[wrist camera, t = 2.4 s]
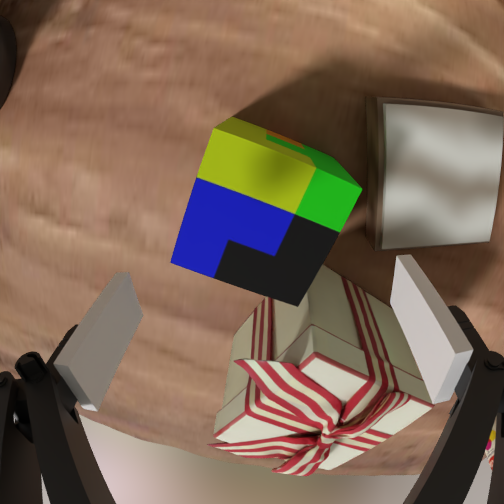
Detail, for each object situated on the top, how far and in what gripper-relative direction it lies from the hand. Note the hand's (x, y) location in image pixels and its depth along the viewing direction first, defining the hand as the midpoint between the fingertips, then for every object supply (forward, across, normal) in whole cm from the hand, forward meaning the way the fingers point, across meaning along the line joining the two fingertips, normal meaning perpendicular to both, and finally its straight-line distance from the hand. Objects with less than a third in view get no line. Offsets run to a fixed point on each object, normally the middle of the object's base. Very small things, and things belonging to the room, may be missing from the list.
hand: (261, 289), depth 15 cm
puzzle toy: (+17, 0, 0) cm, 17 cm away
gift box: (+17, +3, -17) cm, 24 cm away
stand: (+17, +17, +1) cm, 24 cm away
